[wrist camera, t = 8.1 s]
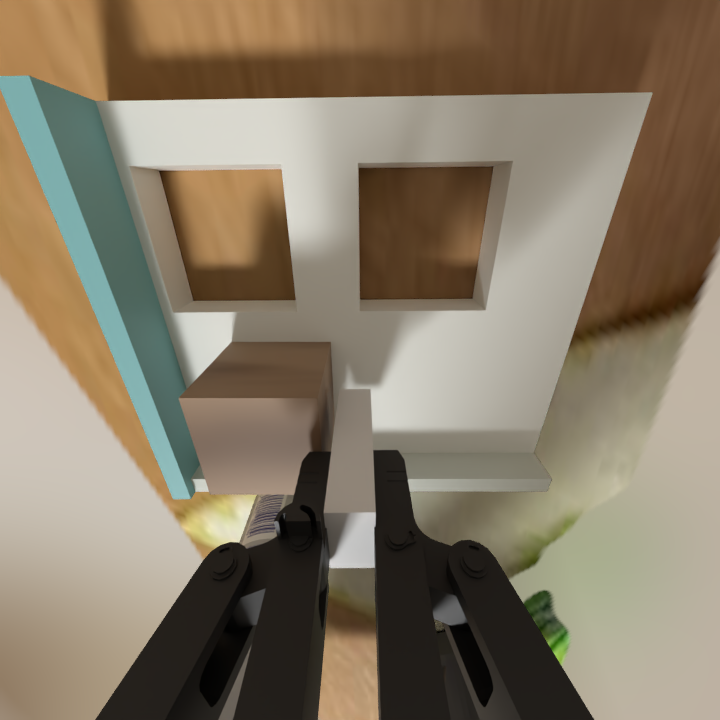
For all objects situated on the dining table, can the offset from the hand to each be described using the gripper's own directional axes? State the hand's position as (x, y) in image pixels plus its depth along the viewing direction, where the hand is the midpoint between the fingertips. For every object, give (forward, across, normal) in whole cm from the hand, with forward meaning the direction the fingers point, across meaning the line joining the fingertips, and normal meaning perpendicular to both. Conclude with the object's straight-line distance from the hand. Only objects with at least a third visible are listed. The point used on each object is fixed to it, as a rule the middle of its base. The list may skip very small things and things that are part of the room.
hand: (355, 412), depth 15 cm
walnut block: (+2, +4, 0) cm, 4 cm away
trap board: (+4, 0, -4) cm, 5 cm away
